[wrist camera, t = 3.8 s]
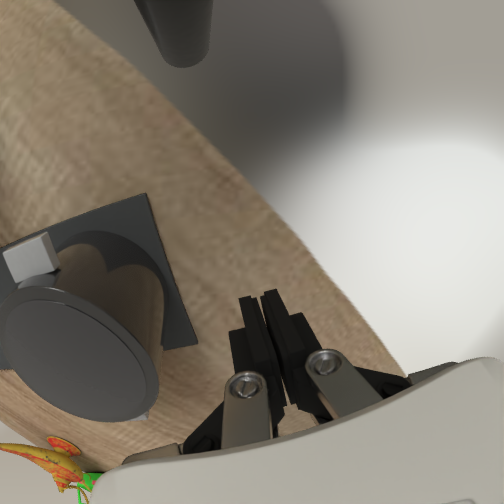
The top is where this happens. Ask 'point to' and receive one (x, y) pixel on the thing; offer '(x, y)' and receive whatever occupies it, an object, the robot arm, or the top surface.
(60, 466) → the magic lamp
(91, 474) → the toy car
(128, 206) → the mat
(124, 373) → the pot
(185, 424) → the top surface
